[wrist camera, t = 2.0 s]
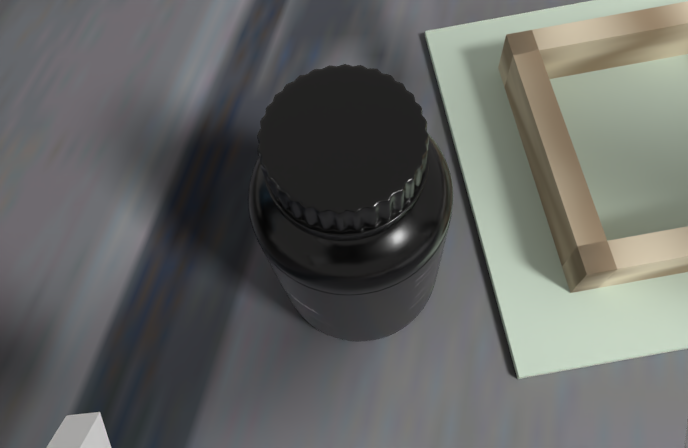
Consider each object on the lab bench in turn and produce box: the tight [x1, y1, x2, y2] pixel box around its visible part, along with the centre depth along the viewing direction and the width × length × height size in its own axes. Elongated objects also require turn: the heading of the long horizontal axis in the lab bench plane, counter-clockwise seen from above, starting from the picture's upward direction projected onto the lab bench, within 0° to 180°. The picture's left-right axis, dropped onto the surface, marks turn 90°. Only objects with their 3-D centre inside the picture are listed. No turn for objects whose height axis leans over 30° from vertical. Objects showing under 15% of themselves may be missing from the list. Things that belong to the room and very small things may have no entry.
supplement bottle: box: [248, 64, 453, 341], centre depth 23 cm, size 7×7×12 cm
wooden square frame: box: [498, 1, 688, 293], centre depth 28 cm, size 12×12×2 cm
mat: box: [425, 0, 688, 379], centre depth 29 cm, size 18×18×1 cm
